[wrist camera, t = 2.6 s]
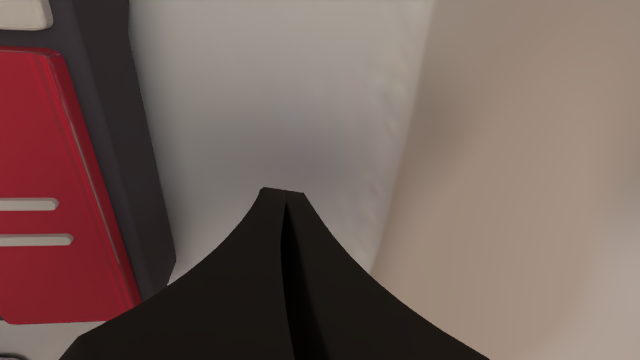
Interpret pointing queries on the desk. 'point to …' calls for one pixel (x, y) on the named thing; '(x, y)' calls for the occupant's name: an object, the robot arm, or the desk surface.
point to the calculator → (75, 167)
